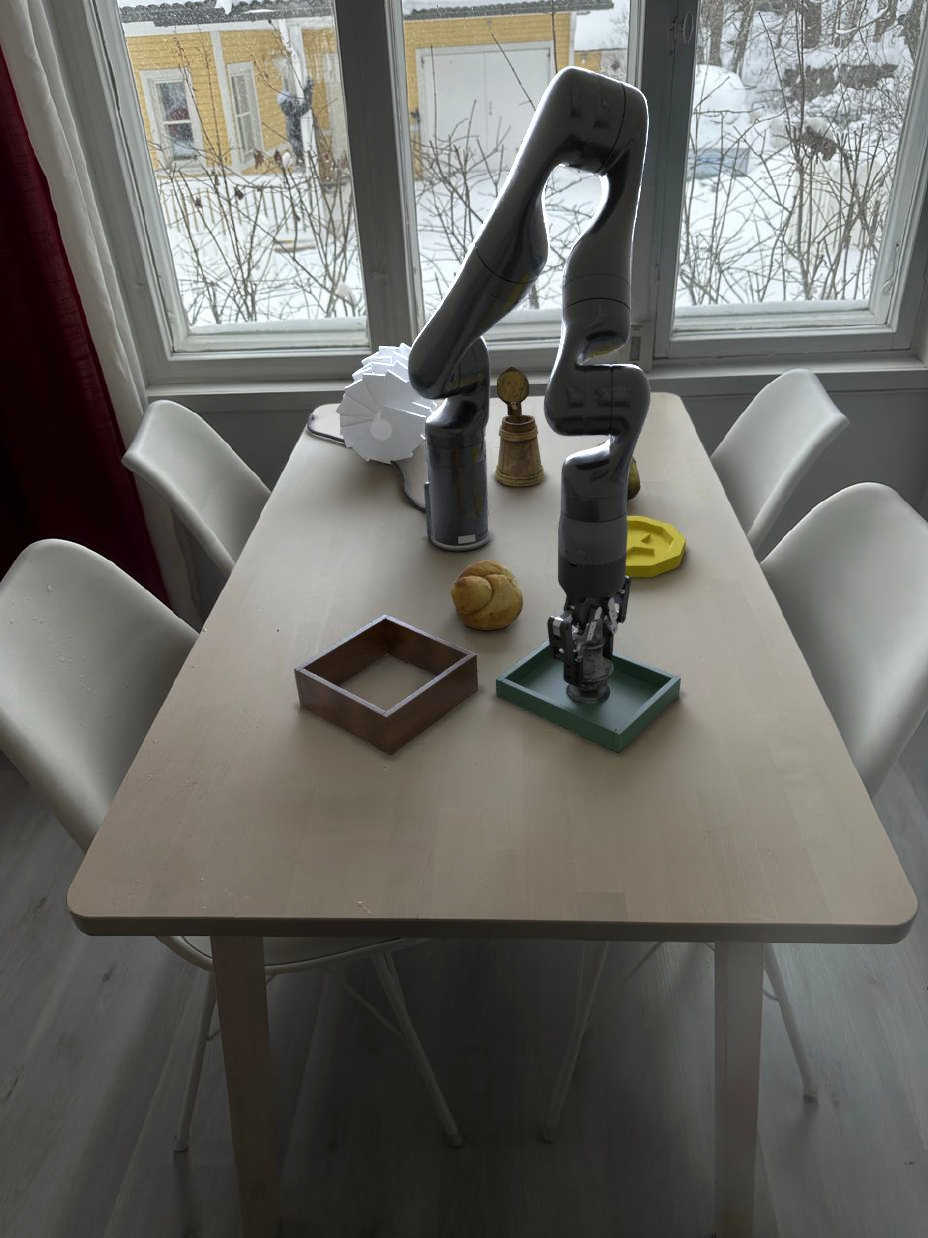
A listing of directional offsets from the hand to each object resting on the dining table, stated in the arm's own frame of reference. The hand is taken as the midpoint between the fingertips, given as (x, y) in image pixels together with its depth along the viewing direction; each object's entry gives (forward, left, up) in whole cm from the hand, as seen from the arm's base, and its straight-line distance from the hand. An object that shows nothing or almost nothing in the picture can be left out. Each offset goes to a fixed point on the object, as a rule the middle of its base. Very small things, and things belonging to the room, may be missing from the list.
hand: (588, 670), depth 111 cm
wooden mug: (-49, +50, -4) cm, 70 cm away
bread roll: (-22, +8, -4) cm, 24 cm away
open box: (-19, -15, -4) cm, 25 cm away
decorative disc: (-16, +35, -4) cm, 39 cm away
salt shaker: (0, 0, -3) cm, 3 cm away
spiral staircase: (-78, +46, -4) cm, 91 cm away
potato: (-30, +53, -4) cm, 61 cm away
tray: (0, 0, -4) cm, 4 cm away
